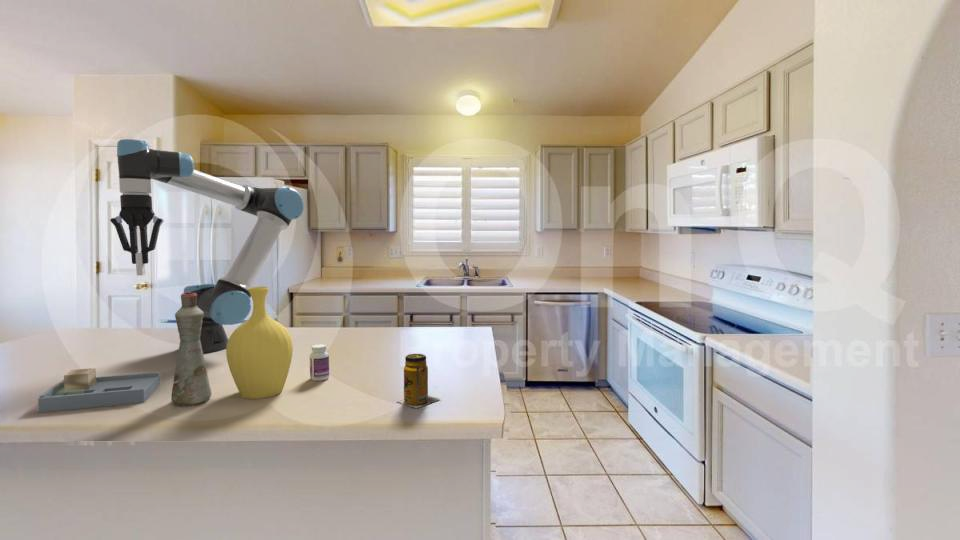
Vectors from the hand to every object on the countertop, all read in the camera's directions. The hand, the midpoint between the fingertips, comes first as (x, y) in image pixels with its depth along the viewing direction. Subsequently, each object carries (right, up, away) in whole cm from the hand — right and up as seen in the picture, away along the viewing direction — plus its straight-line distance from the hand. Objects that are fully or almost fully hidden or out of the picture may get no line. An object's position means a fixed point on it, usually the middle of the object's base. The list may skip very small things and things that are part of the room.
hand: (141, 274), depth 145 cm
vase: (+42, -31, -14) cm, 54 cm away
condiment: (+85, -32, -20) cm, 93 cm away
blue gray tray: (+4, -31, -19) cm, 37 cm away
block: (-2, -29, -19) cm, 34 cm away
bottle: (+28, -32, -22) cm, 47 cm away
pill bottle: (+54, -30, -2) cm, 62 cm away
